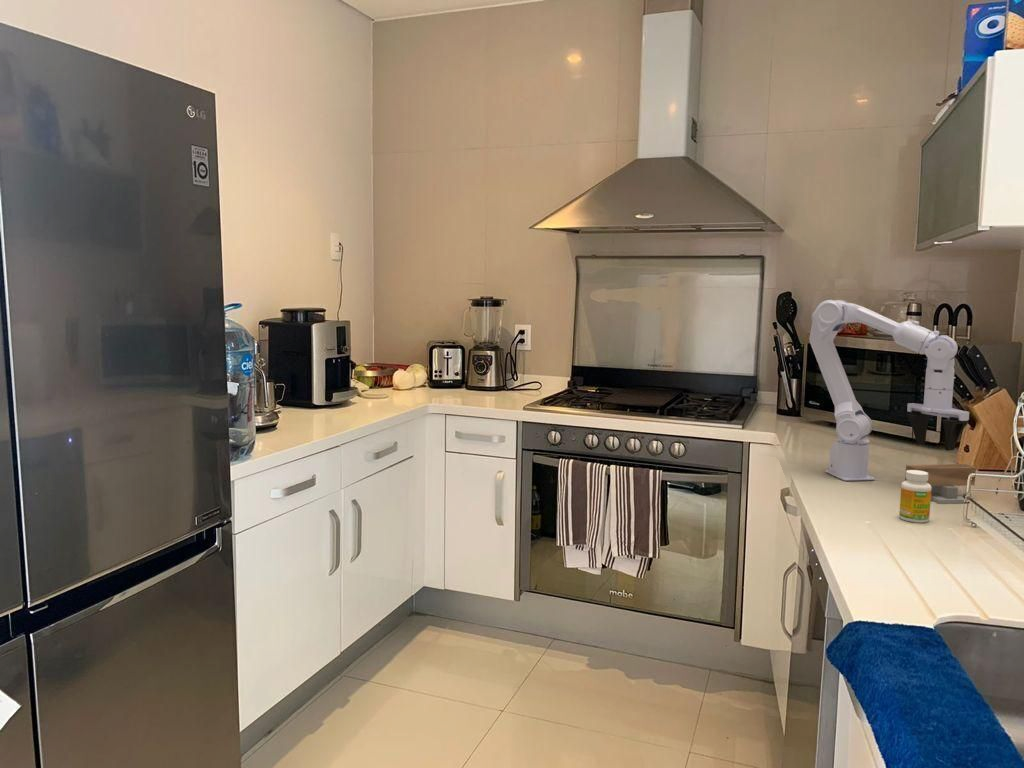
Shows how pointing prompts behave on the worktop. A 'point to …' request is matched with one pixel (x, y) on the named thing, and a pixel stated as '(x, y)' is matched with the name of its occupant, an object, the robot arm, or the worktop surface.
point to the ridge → (945, 495)
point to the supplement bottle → (915, 497)
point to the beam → (946, 474)
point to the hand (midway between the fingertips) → (934, 446)
